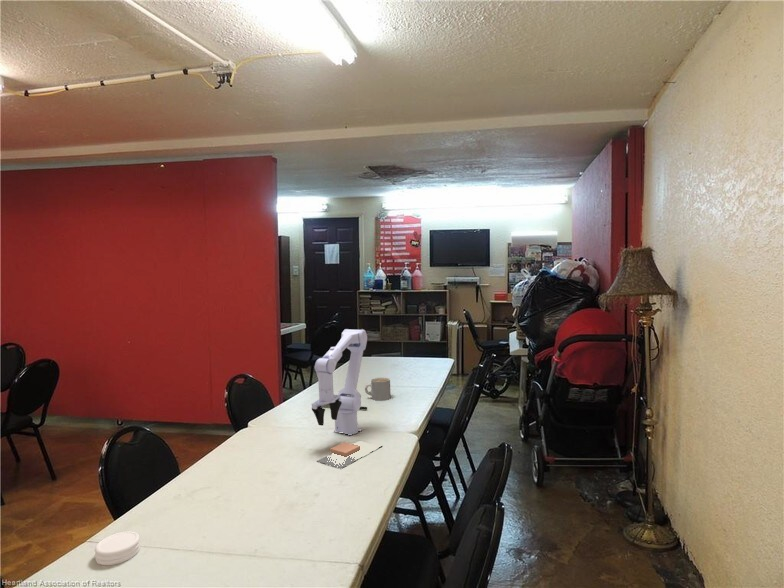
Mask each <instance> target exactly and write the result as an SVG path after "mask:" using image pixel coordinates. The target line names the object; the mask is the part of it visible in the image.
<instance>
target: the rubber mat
mask: <svg viewBox="0 0 784 588" xmlns="http://www.w3.org/2000/svg"><path fill="white" fill-rule="evenodd" d="M327 456H328V455H326V456H324V457H322V458H320V459H318V460H316V462H317V463H319V462H320V464H323V463H325V464H324V465H326V464H328V465H327V466H329V465H331V466H330V467H333V466H334V465H335V464H334V463H333V462H331V461H332V459H331V461H330V458H331V457H330V458H329V457H328V458H329V460H328V458H327ZM354 458H355V457H354ZM354 458H353V459H352V457H351V458H350V456H349V457H348V458H347V459H346V461H345V460H344V461H345V464H343V463H344V462H343V463H342V465H343V466H342V465H341V464H340V463H339V465H340V466H339V465H338V464H336V465H335V467H334V468H336V467H337V466H338V468H337V469H339V468H342V469H344V468H345V466H346V465H348V464H350V463H351V464H353V463H355V462H357V461H356V460H355V459H354ZM336 460H337V459H336ZM351 460H352V461H351ZM354 460H355V462H354ZM327 461H328V462H327ZM329 461H330V462H329ZM333 461H334V460H333ZM352 462H353V463H352ZM335 463H336V461H335ZM351 464H350V465H351ZM348 466H349V465H348ZM343 467H344V468H343ZM346 467H347V466H346Z"/></svg>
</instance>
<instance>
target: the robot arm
mask: <svg viewBox="0 0 784 588" xmlns="http://www.w3.org/2000/svg"><path fill="white" fill-rule="evenodd" d="M340 336H341V337H340V340H339V341H338V342H337V344H336V345H335V346H330V348H329V350H328V351H326V353H325V354H324V355H323V356H322V357H319V358H318V359H317V360H316V361H315V363H314V372H316V377H317V379H318V381H317V382H318V398H319V399H317V400H316V401H315V402H313V403H311V411H312V412H313V414H314V416H315V418H316V420H317V424H318V426H324V425H325V423H324V420H325V419H324V418H325V412H326V408H324V407H321V406H324V405H327V404H329V406H330V408H329V410H330V418H331V420H334V427H335V428H334V429H335V430H334V431H335V432H334V433H336V432H343V433H345V434H348V435H347V436H349V435H351V436H353V435H355V434H357V433H359V432H358V431H360V432H361V430H362V431H363V429H362V428H359V425H358V412H359V411H360V410H361V409H360V407H362V406H361V405H362V400H361V399H362V394H361V393H360V391H359V390H358V389H357V388H358V383H359V377H360V370H361V366H362V360H363V355H364V351H365V350H366V347H367V343H368V334H367V332H366V330H365V329H363V328H361V329H349V328H345V329H344V330H343V331H342V332H341V335H340ZM346 349H347V350H349V351H350V358H349V361H348V367H347V373H346V377H345V384H344V387H343V388H342V389H340V390H339V391H338V394H335V393H334V377H333V376H334V374H333V373H334V372H335V370H336V367H337V363H338V362H339V361H340V360H341V358H342V357H343V352H344V351H345V350H346ZM356 432H357V433H356ZM354 433H355V434H354ZM345 434H344V435H345ZM352 434H353V435H352Z"/></svg>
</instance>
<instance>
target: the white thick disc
mask: <svg viewBox="0 0 784 588" xmlns="http://www.w3.org/2000/svg"><path fill="white" fill-rule="evenodd" d="M140 540H141V536H140V535H139V533H137V532H135V531H129V530H128V531H120V532H115V533H114V534H110V535H108V536H106V537H104V538H103V539H102V540H100V541H99V542H98V543H97V544H96V545H95V547H94V552H95V553H94V557H95V562H96V564H98V565H100V566H115V565H118V564H121V563H124V562H126V561H129V560H130V559H132V558H133V557H135V556H136V555H137V554H138V553H139V552H140V550H141V541H140Z"/></svg>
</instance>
